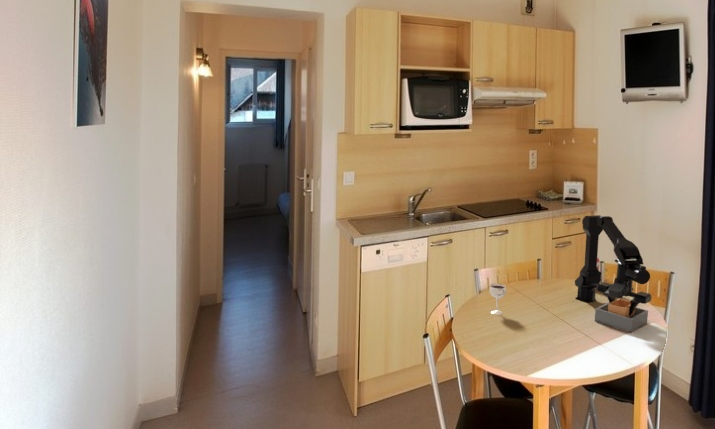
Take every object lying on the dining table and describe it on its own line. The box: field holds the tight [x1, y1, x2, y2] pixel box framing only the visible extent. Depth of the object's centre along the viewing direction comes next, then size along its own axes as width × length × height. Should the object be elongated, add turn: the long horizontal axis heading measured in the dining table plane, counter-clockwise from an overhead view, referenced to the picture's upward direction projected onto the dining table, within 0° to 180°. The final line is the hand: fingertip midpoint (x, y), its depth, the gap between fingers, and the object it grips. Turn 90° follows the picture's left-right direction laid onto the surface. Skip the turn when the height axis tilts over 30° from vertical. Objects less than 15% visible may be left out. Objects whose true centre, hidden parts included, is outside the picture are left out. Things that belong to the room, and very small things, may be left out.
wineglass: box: [489, 283, 507, 316], centre depth 196 cm, size 7×7×12 cm
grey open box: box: [594, 301, 649, 334], centre depth 184 cm, size 14×14×6 cm
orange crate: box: [608, 298, 635, 318], centre depth 184 cm, size 6×9×5 cm
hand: (621, 312), depth 184 cm, fingers closed on orange crate, 6 cm apart
